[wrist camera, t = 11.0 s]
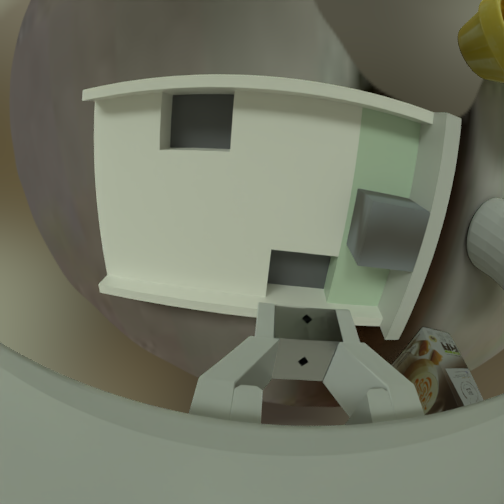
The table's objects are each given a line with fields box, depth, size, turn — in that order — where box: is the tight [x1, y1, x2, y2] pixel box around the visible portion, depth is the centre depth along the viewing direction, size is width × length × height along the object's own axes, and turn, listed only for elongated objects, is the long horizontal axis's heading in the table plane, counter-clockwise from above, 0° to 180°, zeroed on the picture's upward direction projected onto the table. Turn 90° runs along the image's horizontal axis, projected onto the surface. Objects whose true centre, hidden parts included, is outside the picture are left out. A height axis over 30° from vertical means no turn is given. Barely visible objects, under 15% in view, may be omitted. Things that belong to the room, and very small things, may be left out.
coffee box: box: [391, 327, 483, 415], centre depth 25 cm, size 9×6×16 cm
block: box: [346, 188, 430, 272], centre depth 20 cm, size 5×5×4 cm
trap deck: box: [82, 74, 462, 340], centre depth 22 cm, size 20×30×7 cm, turn 86°
